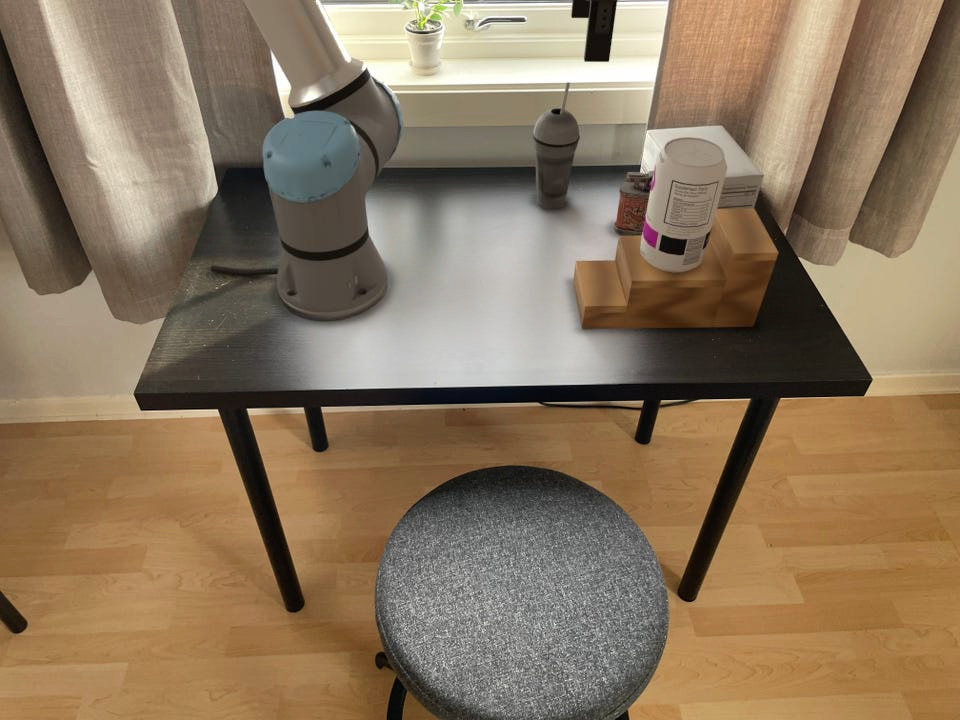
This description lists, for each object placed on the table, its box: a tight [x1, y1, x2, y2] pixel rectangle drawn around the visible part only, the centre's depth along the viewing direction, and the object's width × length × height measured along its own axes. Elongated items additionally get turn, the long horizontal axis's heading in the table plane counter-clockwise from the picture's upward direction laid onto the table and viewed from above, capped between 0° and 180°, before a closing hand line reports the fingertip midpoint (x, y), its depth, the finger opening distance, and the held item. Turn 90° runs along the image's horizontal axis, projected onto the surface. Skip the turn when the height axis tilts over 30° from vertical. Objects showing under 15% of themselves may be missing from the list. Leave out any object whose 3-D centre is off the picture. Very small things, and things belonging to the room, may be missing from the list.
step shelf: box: [572, 208, 779, 330], centre depth 98 cm, size 23×10×12 cm, turn 92°
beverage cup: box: [532, 82, 581, 210], centre depth 114 cm, size 7×7×20 cm
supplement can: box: [640, 137, 727, 273], centre depth 91 cm, size 8×8×15 cm
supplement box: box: [639, 124, 765, 209], centre depth 118 cm, size 17×13×9 cm
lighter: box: [613, 171, 654, 236], centre depth 111 cm, size 8×3×10 cm, turn 84°
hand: (588, 37), depth 87 cm, fingers open, 13 cm apart
